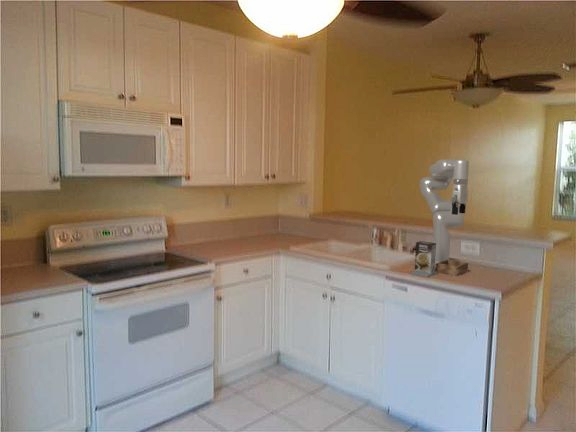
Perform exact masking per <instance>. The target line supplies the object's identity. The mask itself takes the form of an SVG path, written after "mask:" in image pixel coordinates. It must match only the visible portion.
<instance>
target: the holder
mask: <svg viewBox="0 0 576 432" xmlns="http://www.w3.org/2000/svg"><path fill="white" fill-rule="evenodd" d="M468 270H469V262H464V261H459V260H458V261H457V260H452V259H449V260H445V261H442V262H439V263H436V265H435V271H437V272H438V273H439V274H444V275H449V276H455V277H459V276H461V275H463V274H466V273H468Z"/></svg>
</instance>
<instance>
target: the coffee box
mask: <svg viewBox="0 0 576 432" xmlns="http://www.w3.org/2000/svg"><path fill="white" fill-rule="evenodd" d="M435 254H436V243H433V242H429V241H421V240H420V241H416V242H415V255H414V256H415V257H414V258H415V259H414V271H416V272H422V273H427V274H431V273H434V272H435V271H436V265H435Z"/></svg>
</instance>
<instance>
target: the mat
mask: <svg viewBox="0 0 576 432" xmlns="http://www.w3.org/2000/svg"><path fill="white" fill-rule="evenodd" d="M410 275H414V276H421V277H425V278H430V277H432V276H434V275H438V272H437V271H436V270H435V272H434V273H431V274H427V273H422V272H416V271H415V270H413V271H410Z"/></svg>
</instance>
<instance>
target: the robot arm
mask: <svg viewBox="0 0 576 432" xmlns="http://www.w3.org/2000/svg"><path fill="white" fill-rule="evenodd" d="M469 163H470V162H469V160H468V159H455V158H454V159H451V158H450V159H449V158H448V159H445V158H443V159H440V160H437V161H436V162H435V163H433V164H431V166H430V167H429V168H428V171H429V174H430V175H431V176H425V177H423V178H421V179H420V180H419V185H418V186H419V191H420V193H421V195H422V197H423V198H424V200H425V201H426V202H427V205H428V207H429V209H430V212H431V213H432V215H433V216H432V225H433V241H432V243H436V254H435V266H436V263H439V262H442V261H445V260H450V250H451V248H450V247H451V233H450V231H449V230H448V229H447V228H460V227H462V226H464V225H463V224H464V222H465V219H464V215H463V214H466V208H467V203H468V196H469V195H468V182H469V180H468V179H469V167H470V166H469V165H470V164H469ZM451 182H452V185H453V187H452V194H451V199H443V198H442V197H441V195H440V194H439V193H438V192H437V191H445V190H448V188H449V186H450V184H451Z"/></svg>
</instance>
